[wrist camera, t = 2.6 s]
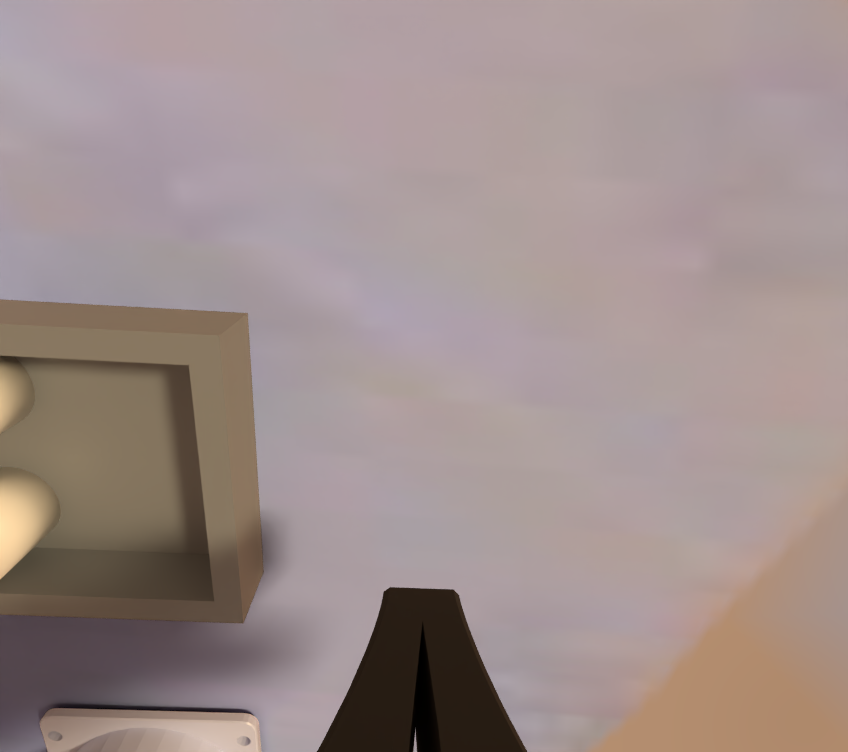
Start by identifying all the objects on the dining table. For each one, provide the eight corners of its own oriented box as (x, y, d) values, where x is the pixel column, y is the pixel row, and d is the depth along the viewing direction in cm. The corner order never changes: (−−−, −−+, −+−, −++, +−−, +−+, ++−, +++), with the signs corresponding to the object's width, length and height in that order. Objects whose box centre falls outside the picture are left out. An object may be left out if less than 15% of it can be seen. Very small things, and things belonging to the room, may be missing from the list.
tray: (267, 563, 18) (239, 634, 15) (-59, 550, 18) (-148, 620, 15) (251, 309, 15) (213, 340, 12) (-146, 287, 14) (-281, 314, 12)
